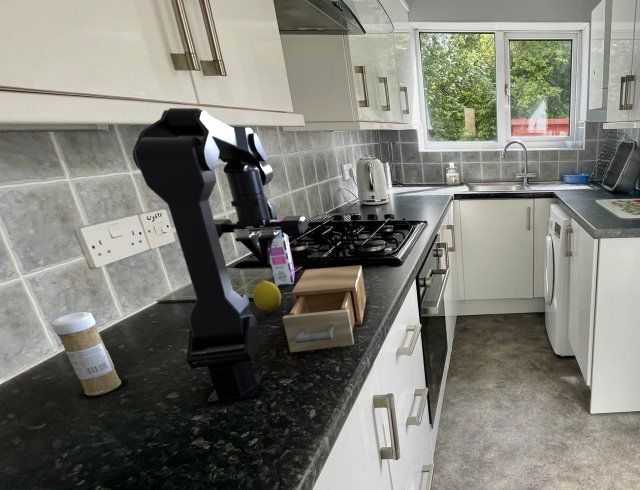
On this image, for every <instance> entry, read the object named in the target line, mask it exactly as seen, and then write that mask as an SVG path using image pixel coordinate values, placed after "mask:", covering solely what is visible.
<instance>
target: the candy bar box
mask: <svg viewBox="0 0 640 490" xmlns="http://www.w3.org/2000/svg"><path fill="white" fill-rule="evenodd" d="M282 219H283V218H278V219H277V220H271V221H281V220H282ZM262 227H264V226H262ZM269 266H270V271H271V275H272V279H273V284H275V285H276V286H277V287H282V286H291V285H294V284H295V274H296V272H295V267H294V261H293V256H292V251H291V247H290V242H289V236H288V235H286V234H285V233H283V232H282V231H281V230H280V234H279V235H278V236H277V237H276V238H275V239H273V242H272V246H271V252H270V259H269Z"/></svg>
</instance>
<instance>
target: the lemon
mask: <svg viewBox="0 0 640 490" xmlns="http://www.w3.org/2000/svg"><path fill="white" fill-rule="evenodd" d="M252 290H253V291H252V298H253V301H254V304H255V306H256V307H257V308H258V309H259V310H262V311H264V312H268V313H273V312H274V310H276V309H278V307H279V306H280V305H281V302H282V294H281V291H280V289H279V286H276V285H275V284H274V282H271V281H267V280H261V281H260V282H259V283H257V284H256V285H255V286H254V288H253V289H252Z"/></svg>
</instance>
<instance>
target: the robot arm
mask: <svg viewBox="0 0 640 490" xmlns="http://www.w3.org/2000/svg"><path fill="white" fill-rule="evenodd" d="M132 156H133V157H132V158H133V161H134V164H135V166H136V167H137V169H139V171H140V173H141V175H142V178H143V180H144V182H145V185H146V186H147V187H148V188H149V189H150V190H151V191H152V192H153V193H154V194H156V196H157V197H159V199H161V200H162V201H163V202H165V204H166V205H167V207H168V209H169V213H170V216H171V220H172V222H173V226H174V230H175V232H176V235H177V238H178V243H179V246H180V249H181V253H182V256H183V258H184V259H183V260H184V261H185V262H184V263H185V265H186V269H187V271H188V275H189V278H190V281H191V285H192V288H193V291H194V294H195V299H196V300H195V302H194V305H193V308H192V310H191V312H190V315H189V317H188V320H189V321H188V322H189V326H190V327H189V334H188V342H187V343H188V344H187V353H186V363H187V364H188V365H189V367H190V368H191V369H192V370H195V369H197V368H205V367H206V368H207V369H208V373H209V376H210V379H211V382H212V385H213V388H214V390H213V391H212V393H211V394H210V396H209V398H208V399H207V403H208V404H216V403H217V404H218V403H225V402H230V401H238V400H244V399H251V398H254V396H255V394H256V393H257V390H258V388H259V386H260V384H261V382H262V381H263V379H264V376H265V375H264V373H256V374H255V371H254V368H253V365H252V362H253V361H254V359H255V357H256V355H257V354H258V352H259V351H260V349H261V343H260V336H259V327H258V322H257V321H258V320H257V318H256V316H255V315H254V314H253V312H252V308H251V305H250V300H249V298H248V297H247V295H245V294H238V293H237V292H236V291H235V290H234V289H233V286H232V281H231V278H230V275H229V271H228V268H227V264H226V260H225V256H224V253H223V248H222V245H221V241H220V238H222V236H223V235H224V234H231V233H233V234H235V237H236V238H234V240H235V242H240V243H241V244H242V245H243V246H244V247H246V249H247V250H249V252H251V253H252V255H253V256H254V257H255V258H256V259H257V261H258V262H259V263H260V264H261V265H262V266H263V267H268V266H270V262H269V259H270V252H271V246H272V242H273V239H275V238H276V237H277V236H278V235H279V234H280V230H281V231H282V232H283V233H285V234H286V235H287V236H288V235H290V236H291V235H301V234H304V233H305V232H306V230H307V229H308V228H309V224H308V219H307V218H306V217H305V216H304V215H286V216H285V217H283V218H281V219H282V220H281V221H271V220H277V219H279V218H278V208H277V205H276V204H274V203H272V202H270V201H269V198H268V196H267V195H265V190H264V187H265V186H266V185H268V184H270V183H271V182H272V181H273V178H274V171H273V169H272V167H271V165H270V164H269V163H268V162H267V161H268V160H269V159H268V156H267V154H266V151H265V149H264V147H263V144H262V142H261V140H260V137H259V136H258V134H257V133H256V132H254V130H253V129H252V128H251V127H250V126H231V125H229V124H226V123H225V122H223V121H221V120H219V119H217V118H216V117H213V116H212V115H209V113H208V112H207V111H206V110H204V109H200V108H198V107H197V108H194V107H169V108H168V109H164V110H163V111H162V114H161V117H160V119H158V120H157V121H155V122H153V123H152V124H150V125H148V126H147V127H146V128H144V129H143V130H141V132H140V133H139V135H138V138H137V140H136V142H135V144H134V146H133V150H132ZM218 160H221V161H222V162H223V163H226V164H225V165H224V166H223V173H224V174H225V176H226V179H227V182H228V186H229V190H230V194H231V198H232V200H231V201H230V203H231V206H232V207H234V211H235V213H236V217H237V221H236V222H234V223H233V221H232V220H231V219H230V218H222V219H221V218H220V219H214V216H213V212H212V208H211V204H210V197H211V194H212V192H213V190H214V188H215V186H216V183H217V176H216V169H217V165H218ZM263 226H264V227H263ZM260 234H261V235H260ZM237 345H238V346H237ZM239 345H240V346H239ZM241 345H242V346H241ZM231 346H233V347H231ZM221 347H223V348H221ZM213 348H217V349H213Z"/></svg>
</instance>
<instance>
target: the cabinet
mask: <svg viewBox="0 0 640 490" xmlns="http://www.w3.org/2000/svg"><path fill="white" fill-rule="evenodd" d="M364 281H365V280H364V274H363V268H362V265H348V266H337V267H323V268H311V269H310V268H309V269H305V270H304V272H303V273H302V275H301V277H300V278H299V280H298V281H297V282H296V284H295V286H294V288H293V290H292V291H291V297H292V302H293V306H294V305H295V303H296V302H297V300H298V298H299V296H300V295H309V294H320V293H331V292H342V291H352V294H353V300H354V306H355V312H356V317H355V321H354V326H361V325H362V324H363V319H364V314H365V308H366V303H367V293H366V288H365V282H364Z"/></svg>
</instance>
